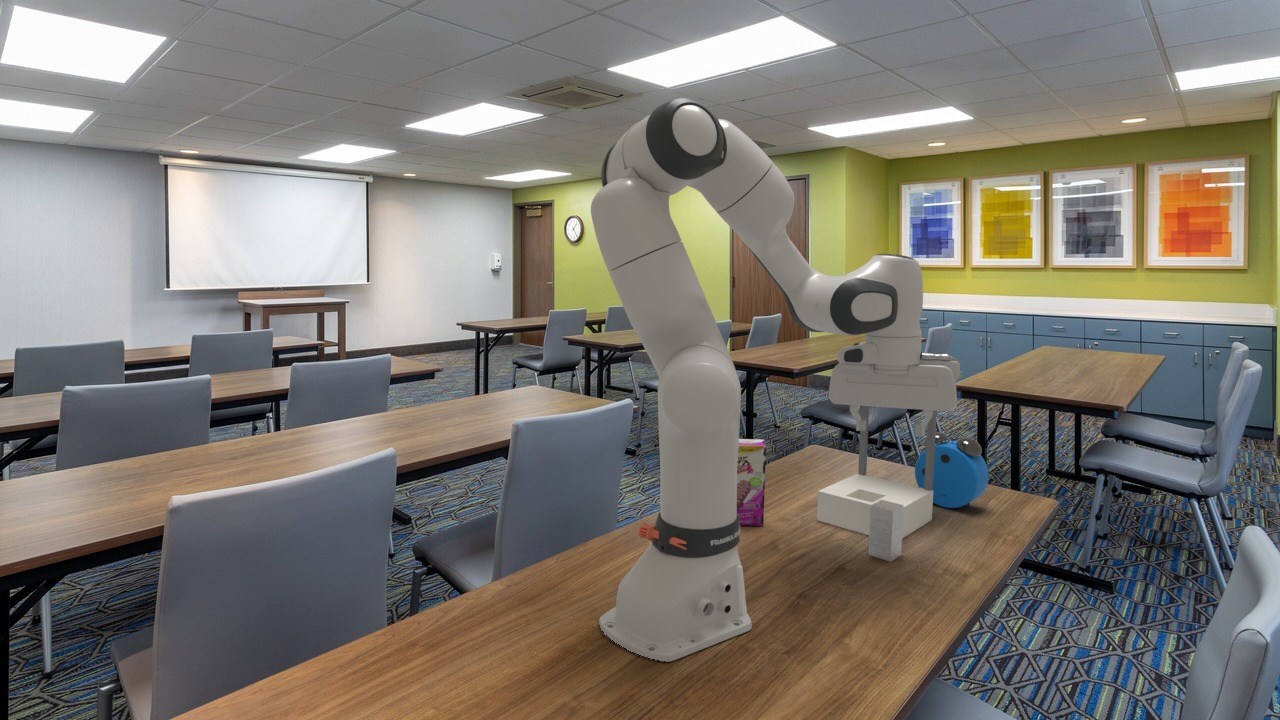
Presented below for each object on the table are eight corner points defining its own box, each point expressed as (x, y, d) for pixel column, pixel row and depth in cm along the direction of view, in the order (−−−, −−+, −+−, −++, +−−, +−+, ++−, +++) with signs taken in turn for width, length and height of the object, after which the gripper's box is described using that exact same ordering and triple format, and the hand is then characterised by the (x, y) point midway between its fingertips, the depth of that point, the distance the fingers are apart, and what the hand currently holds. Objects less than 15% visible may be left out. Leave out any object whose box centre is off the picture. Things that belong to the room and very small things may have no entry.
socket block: (905, 546, 122) (913, 385, 118) (808, 517, 137) (812, 373, 133) (954, 514, 138) (962, 371, 134) (861, 491, 152) (867, 361, 148)
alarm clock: (987, 509, 140) (992, 438, 138) (974, 517, 136) (979, 443, 134) (925, 493, 150) (929, 427, 148) (911, 500, 146) (915, 432, 144)
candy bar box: (706, 525, 133) (707, 443, 130) (706, 516, 138) (707, 437, 135) (764, 527, 132) (766, 444, 129) (762, 518, 137) (764, 438, 134)
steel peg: (890, 561, 116) (893, 511, 115) (868, 554, 119) (870, 505, 118) (901, 554, 119) (903, 505, 118) (879, 548, 122) (881, 499, 121)
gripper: (961, 352, 113) (957, 433, 115) (834, 347, 121) (832, 424, 123) (961, 356, 107) (957, 442, 109) (827, 352, 116) (826, 432, 118)
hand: (890, 432), depth 116 cm, fingers open, 8 cm apart
